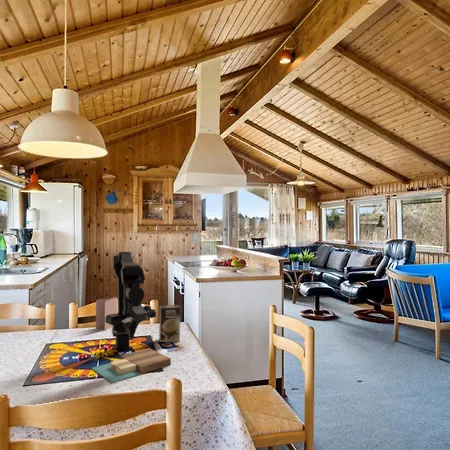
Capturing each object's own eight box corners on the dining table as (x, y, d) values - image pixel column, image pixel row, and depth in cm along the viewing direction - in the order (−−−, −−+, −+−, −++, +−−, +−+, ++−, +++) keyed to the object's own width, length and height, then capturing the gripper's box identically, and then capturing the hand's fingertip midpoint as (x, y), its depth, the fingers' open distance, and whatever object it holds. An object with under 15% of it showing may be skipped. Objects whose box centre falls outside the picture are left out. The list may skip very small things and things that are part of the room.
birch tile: (110, 367, 142) (110, 362, 142) (124, 363, 146) (124, 358, 146) (121, 374, 135) (121, 369, 135) (136, 370, 139) (136, 365, 139)
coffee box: (160, 343, 172) (160, 308, 172) (159, 339, 178) (159, 305, 178) (180, 341, 174) (180, 307, 174) (178, 337, 180) (178, 304, 180)
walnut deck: (120, 361, 149) (120, 355, 149) (149, 354, 157) (149, 348, 157) (141, 373, 137) (141, 367, 137) (170, 365, 146) (170, 358, 145)
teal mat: (91, 368, 141) (91, 367, 141) (118, 361, 149) (118, 360, 149) (112, 383, 129) (112, 382, 129) (140, 374, 136) (140, 373, 136)
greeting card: (116, 324, 203) (116, 296, 203) (121, 327, 198) (122, 299, 198) (95, 328, 196) (95, 299, 196) (100, 331, 190) (100, 301, 190)
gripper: (118, 304, 131) (118, 349, 131) (163, 297, 143) (163, 338, 143) (104, 299, 139) (104, 341, 139) (148, 293, 152) (148, 332, 152)
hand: (131, 338), depth 143 cm, fingers closed
